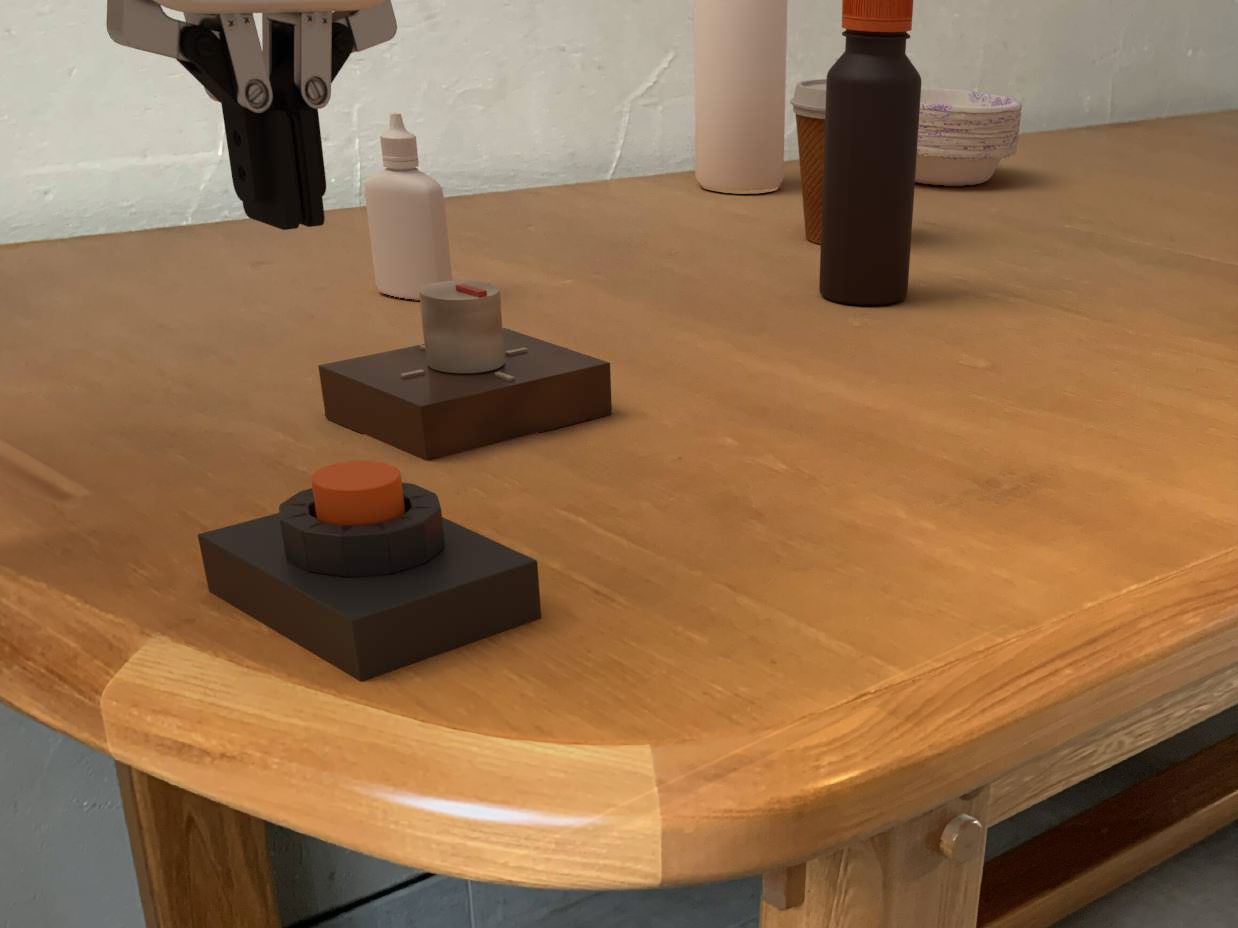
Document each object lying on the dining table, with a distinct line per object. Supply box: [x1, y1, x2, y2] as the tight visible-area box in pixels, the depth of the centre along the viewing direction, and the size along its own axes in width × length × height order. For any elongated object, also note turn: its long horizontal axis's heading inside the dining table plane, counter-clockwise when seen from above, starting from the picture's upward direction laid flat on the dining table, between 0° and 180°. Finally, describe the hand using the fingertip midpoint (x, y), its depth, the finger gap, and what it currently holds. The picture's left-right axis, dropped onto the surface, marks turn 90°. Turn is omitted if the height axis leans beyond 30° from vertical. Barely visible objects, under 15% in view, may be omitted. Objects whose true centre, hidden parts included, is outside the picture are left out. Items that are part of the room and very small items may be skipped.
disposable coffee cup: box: [789, 78, 827, 245], centre depth 129 cm, size 10×10×12 cm
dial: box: [419, 280, 505, 374], centre depth 85 cm, size 4×4×4 cm
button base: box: [197, 482, 542, 683], centre depth 65 cm, size 9×12×4 cm
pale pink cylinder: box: [693, 0, 788, 191], centre depth 143 cm, size 9×9×30 cm
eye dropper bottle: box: [364, 112, 453, 301], centre depth 108 cm, size 4×6×12 cm
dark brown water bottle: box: [818, 0, 922, 306], centre depth 110 cm, size 7×7×20 cm
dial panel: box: [318, 327, 613, 462], centre depth 87 cm, size 13×10×3 cm
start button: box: [310, 460, 405, 525], centre depth 63 cm, size 4×4×2 cm
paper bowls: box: [915, 87, 1023, 187], centre depth 157 cm, size 15×15×8 cm
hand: (284, 220), depth 58 cm, fingers closed
